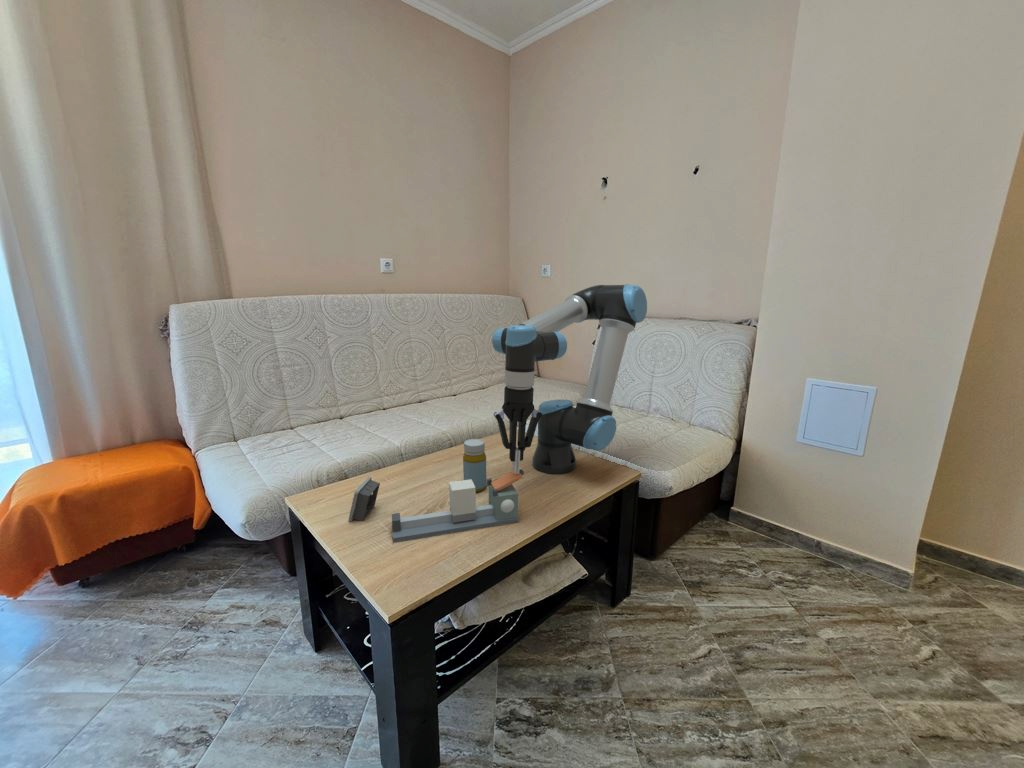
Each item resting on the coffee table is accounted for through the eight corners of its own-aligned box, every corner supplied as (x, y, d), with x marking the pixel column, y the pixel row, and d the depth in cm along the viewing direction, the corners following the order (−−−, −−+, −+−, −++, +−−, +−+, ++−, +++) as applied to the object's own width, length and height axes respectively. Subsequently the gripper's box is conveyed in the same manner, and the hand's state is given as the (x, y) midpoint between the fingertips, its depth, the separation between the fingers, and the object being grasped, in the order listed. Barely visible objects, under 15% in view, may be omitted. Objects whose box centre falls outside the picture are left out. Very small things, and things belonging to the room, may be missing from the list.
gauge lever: (492, 486, 113) (522, 470, 115) (496, 493, 109) (527, 477, 111) (490, 481, 113) (519, 465, 114) (494, 488, 109) (524, 471, 110)
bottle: (483, 494, 125) (482, 447, 122) (460, 492, 127) (459, 445, 123) (488, 483, 132) (488, 439, 129) (467, 481, 133) (466, 437, 130)
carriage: (472, 509, 113) (471, 479, 111) (476, 519, 109) (475, 487, 107) (450, 513, 112) (449, 482, 110) (453, 522, 107) (452, 490, 105)
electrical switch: (362, 504, 119) (363, 474, 117) (380, 507, 119) (381, 477, 117) (347, 522, 110) (348, 490, 108) (367, 525, 110) (367, 493, 108)
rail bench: (509, 505, 119) (509, 474, 117) (518, 522, 110) (518, 488, 108) (392, 523, 110) (390, 489, 108) (393, 542, 101) (390, 506, 99)
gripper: (537, 382, 112) (533, 464, 117) (491, 383, 109) (489, 468, 114) (547, 388, 105) (542, 475, 110) (498, 390, 102) (496, 480, 107)
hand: (515, 471), depth 112 cm, fingers closed
